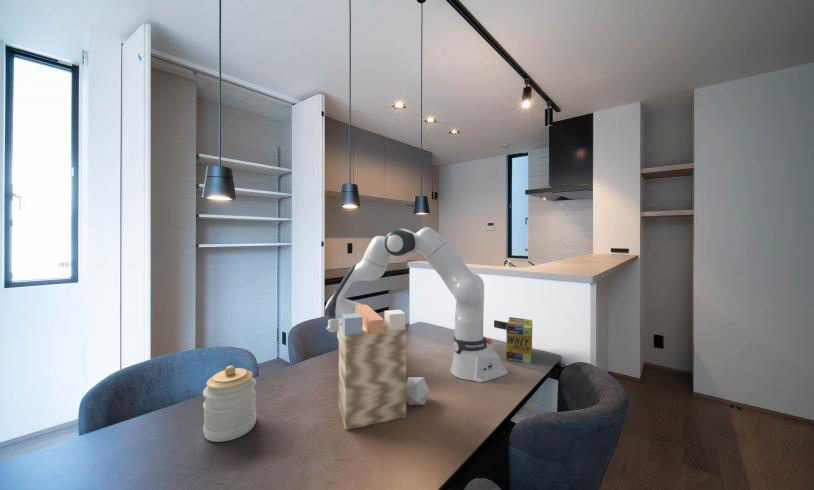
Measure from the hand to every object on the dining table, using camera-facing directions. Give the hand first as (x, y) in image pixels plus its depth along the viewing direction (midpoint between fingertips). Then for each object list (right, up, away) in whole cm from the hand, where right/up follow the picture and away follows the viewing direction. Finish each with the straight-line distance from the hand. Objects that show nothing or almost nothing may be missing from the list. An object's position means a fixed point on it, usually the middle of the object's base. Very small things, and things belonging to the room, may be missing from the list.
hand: (357, 318), depth 117 cm
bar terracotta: (+6, +2, -17) cm, 18 cm away
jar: (-31, -24, -29) cm, 49 cm away
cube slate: (+3, +2, -26) cm, 26 cm away
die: (+21, -24, -15) cm, 35 cm away
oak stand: (+7, -24, -20) cm, 32 cm away
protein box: (+69, -23, +25) cm, 77 cm away
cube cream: (+15, +2, -21) cm, 26 cm away
